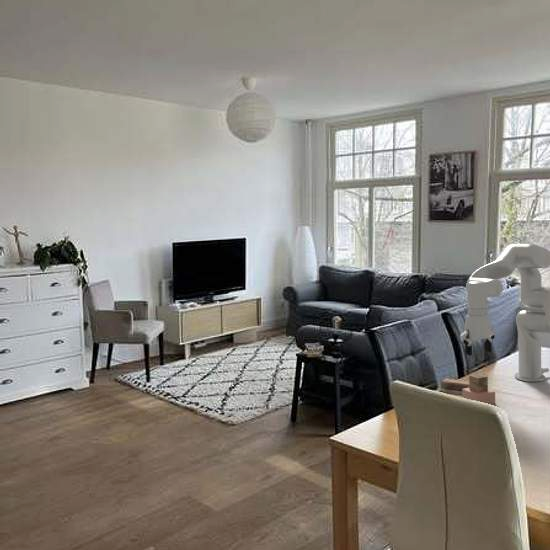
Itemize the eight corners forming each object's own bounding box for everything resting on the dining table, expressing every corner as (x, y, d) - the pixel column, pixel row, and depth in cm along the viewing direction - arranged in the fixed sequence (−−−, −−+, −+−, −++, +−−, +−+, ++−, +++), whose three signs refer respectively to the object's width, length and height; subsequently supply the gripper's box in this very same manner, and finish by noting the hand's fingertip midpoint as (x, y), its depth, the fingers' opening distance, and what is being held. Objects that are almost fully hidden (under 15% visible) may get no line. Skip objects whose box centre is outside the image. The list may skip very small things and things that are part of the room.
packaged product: (437, 381, 240) (445, 375, 248) (438, 392, 241) (445, 386, 249) (480, 387, 229) (486, 381, 237) (480, 398, 230) (487, 392, 238)
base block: (479, 397, 230) (479, 385, 230) (495, 403, 222) (495, 391, 221) (462, 400, 227) (462, 388, 227) (477, 407, 219) (477, 394, 218)
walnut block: (479, 387, 227) (479, 373, 227) (487, 390, 222) (487, 376, 222) (469, 389, 225) (469, 375, 225) (477, 392, 221) (477, 378, 220)
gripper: (488, 307, 227) (489, 348, 229) (453, 312, 221) (454, 354, 223) (501, 310, 220) (502, 352, 222) (466, 315, 214) (467, 358, 216)
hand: (478, 353), depth 223 cm, fingers open, 9 cm apart
